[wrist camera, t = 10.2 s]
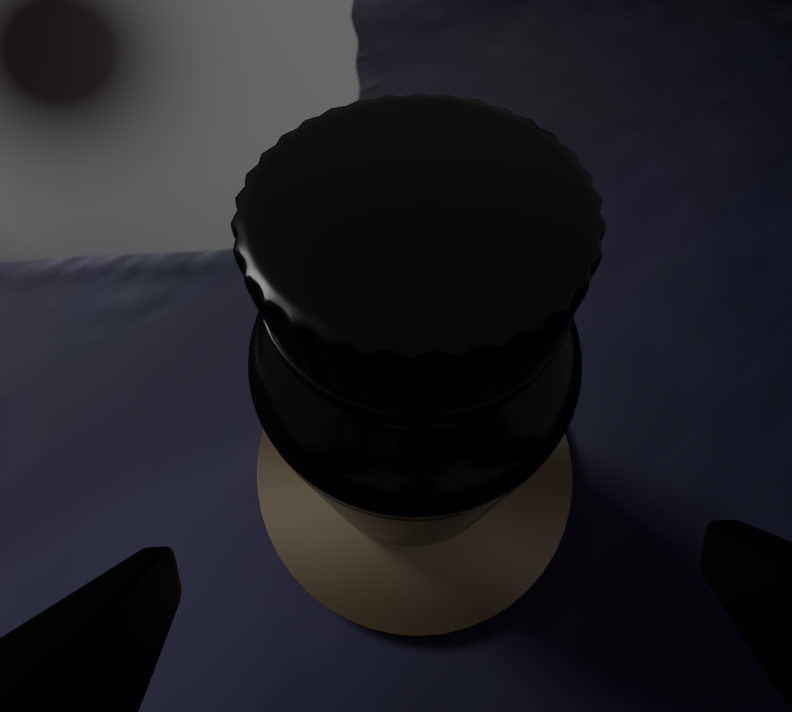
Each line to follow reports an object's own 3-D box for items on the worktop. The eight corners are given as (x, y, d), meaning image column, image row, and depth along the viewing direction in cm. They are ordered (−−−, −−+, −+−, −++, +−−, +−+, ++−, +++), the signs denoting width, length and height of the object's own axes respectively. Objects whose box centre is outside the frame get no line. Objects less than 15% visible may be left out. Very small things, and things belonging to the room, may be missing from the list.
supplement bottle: (395, 343, 18) (387, 11, 8) (532, 437, 16) (787, 159, 5) (281, 466, 16) (30, 225, 5) (426, 597, 13) (523, 655, 3)
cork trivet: (598, 631, 14) (610, 634, 13) (238, 634, 14) (228, 637, 13) (536, 327, 19) (542, 316, 19) (282, 330, 20) (278, 319, 19)
